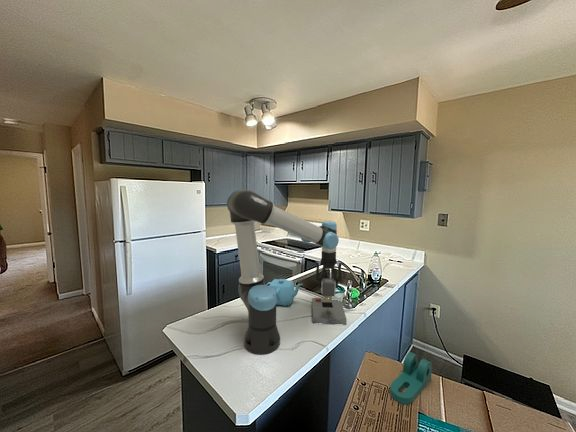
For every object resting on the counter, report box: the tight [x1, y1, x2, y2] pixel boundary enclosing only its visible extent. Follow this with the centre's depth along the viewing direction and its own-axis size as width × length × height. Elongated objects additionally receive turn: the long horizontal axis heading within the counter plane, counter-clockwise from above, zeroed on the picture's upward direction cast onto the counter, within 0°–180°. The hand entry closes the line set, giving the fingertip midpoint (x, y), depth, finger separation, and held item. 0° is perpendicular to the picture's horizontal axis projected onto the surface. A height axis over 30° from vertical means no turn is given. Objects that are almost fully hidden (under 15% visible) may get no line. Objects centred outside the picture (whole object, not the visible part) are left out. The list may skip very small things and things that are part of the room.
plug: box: [322, 277, 336, 300], centre depth 133 cm, size 7×6×10 cm
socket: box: [311, 297, 348, 326], centre depth 131 cm, size 22×16×4 cm
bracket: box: [389, 351, 433, 405], centre depth 83 cm, size 18×7×8 cm, turn 130°
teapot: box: [265, 278, 304, 307], centre depth 143 cm, size 18×16×14 cm
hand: (328, 292), depth 133 cm, fingers closed on plug, 6 cm apart
